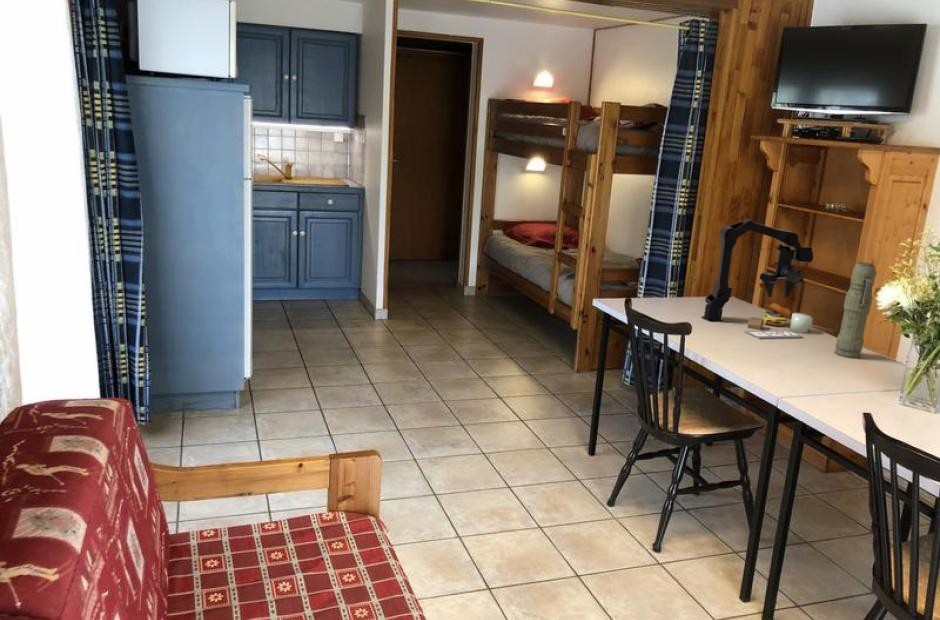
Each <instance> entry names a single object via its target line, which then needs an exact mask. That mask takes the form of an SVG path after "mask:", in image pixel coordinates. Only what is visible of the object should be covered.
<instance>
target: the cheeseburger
mask: <svg viewBox="0 0 940 620" xmlns="http://www.w3.org/2000/svg"><path fill="white" fill-rule="evenodd" d="M768 308H769V309H770V310H768V309H767V310H765V312H764V313H763V315H762V316H761V317H762V318H761V319H764V323H763V325H770V326H775V327H784V326H785V324H786V323H787V321H788V319H789V318H791V317H792V315H791V313H792V311H791V310H790V309H789V308H787V307H783V306H781V304H780V303H776V302H773V303H771V304H770V305H769V306H768Z"/></svg>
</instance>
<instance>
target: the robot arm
mask: <svg viewBox="0 0 940 620" xmlns="http://www.w3.org/2000/svg"><path fill="white" fill-rule="evenodd" d="M749 231H752V232H755V233H758V234H761V235H764V236H767V237H770V238H773V239H775V240H776V241H778V242H780V243H779V244H778V245H776V246H775V247H774V249H775V250H777V251H778V257H777V261H775V262H774V265H775V266H776V267H775V271H773V272H772V273H770V272H762V273H760V275H759V280H761V282H763V285H764V287H765V290H766V293H767V297H768V298H772V295H773V292H774V288H775V287H774V286H775V285H776V284H777V282H776V281H777V280H778V281H779V280H785V288H784V289H785V290H784V291H785V294H784V295H785V298H789V296H790V295H791V293H792V291H793V290H794V288H795V287H796V286H797V285H799V284H800V285H801V283H803V282H804V276H805V271H804V269H803V270H802V269H798V270H797V269H795V265H794V264H793V260H794V262H796V263H803V264H805V263H806V264H811V263H812V261H813V259H814V252H813V247H812V246H802V245H801V243H800V241H799V235H798V234H797V233H796V232H794V231H791V230H788V229H781V228H780V229H779V228H774V227H770V226H767V225H764V224H760V223H759V222H755V221H754V220H753V221H752V220H751V219H748V218H747V219H744V220H742V221H739V222H736V223H733V224H731V225H726V226H723V227H721V228H720V230H719V232H718V233H719V243H720V254H719V263H718V270H717V277H716V278H717V279H716V282H715V283H714V284H713V288H712V291H711V293H710V294H708V295H707V296H706V297H705V298H704V299H705V303H706V304H705V309H704V314H703V315H702V316H701V319H704V320H706V321H708V322H723V319H722V317H723V308H724V306H725V305H726V303H728V302H729V301H730V298H732V292H733V291H732V290H733V287H732V286H730V285H729V277H730V269H731V262H732V254H733V250H734V248H735V246H736V244H737V241H738V238H739V237H742V236H743V235H744V234H746V233H747V232H749ZM781 243H782V244H781ZM783 244H784V245H783ZM791 247H792V248H791Z"/></svg>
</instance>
